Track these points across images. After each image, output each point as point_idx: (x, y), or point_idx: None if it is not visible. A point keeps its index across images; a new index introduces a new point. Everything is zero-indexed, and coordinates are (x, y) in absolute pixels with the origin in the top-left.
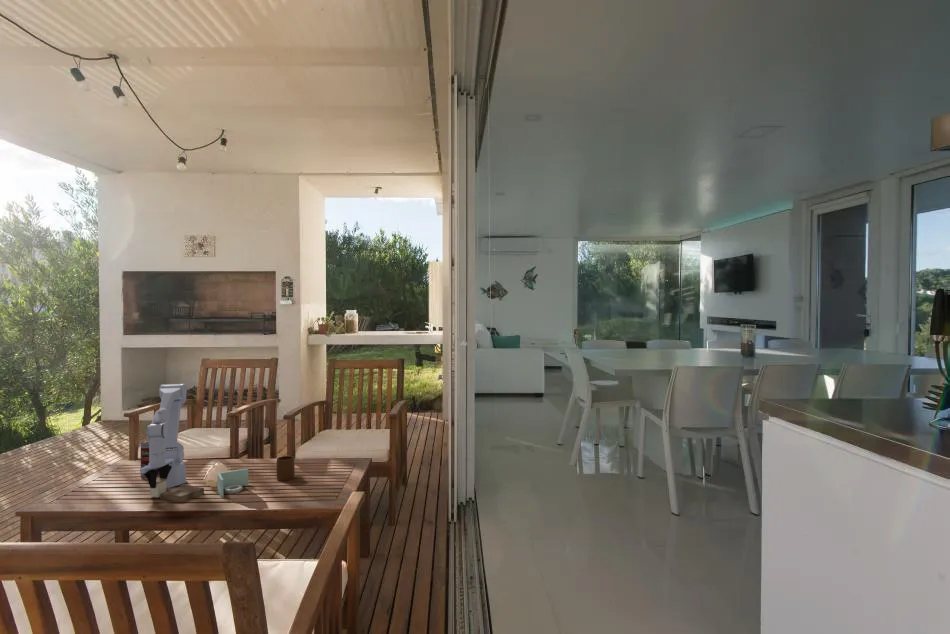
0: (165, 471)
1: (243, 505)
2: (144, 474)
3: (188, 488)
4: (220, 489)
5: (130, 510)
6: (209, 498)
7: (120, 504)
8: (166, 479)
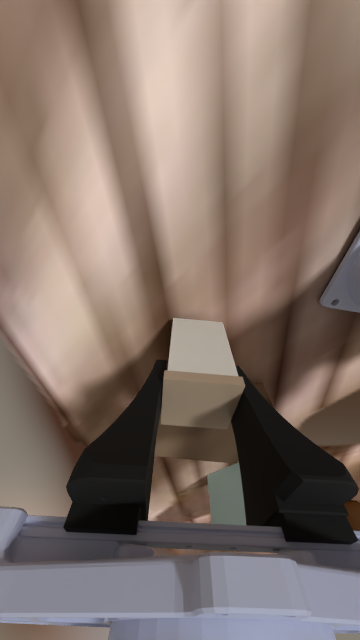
0: (246, 481)
1: (163, 510)
2: (95, 444)
3: (227, 436)
4: (219, 493)
5: (26, 352)
6: (194, 463)
7: (46, 243)
8: (223, 427)
